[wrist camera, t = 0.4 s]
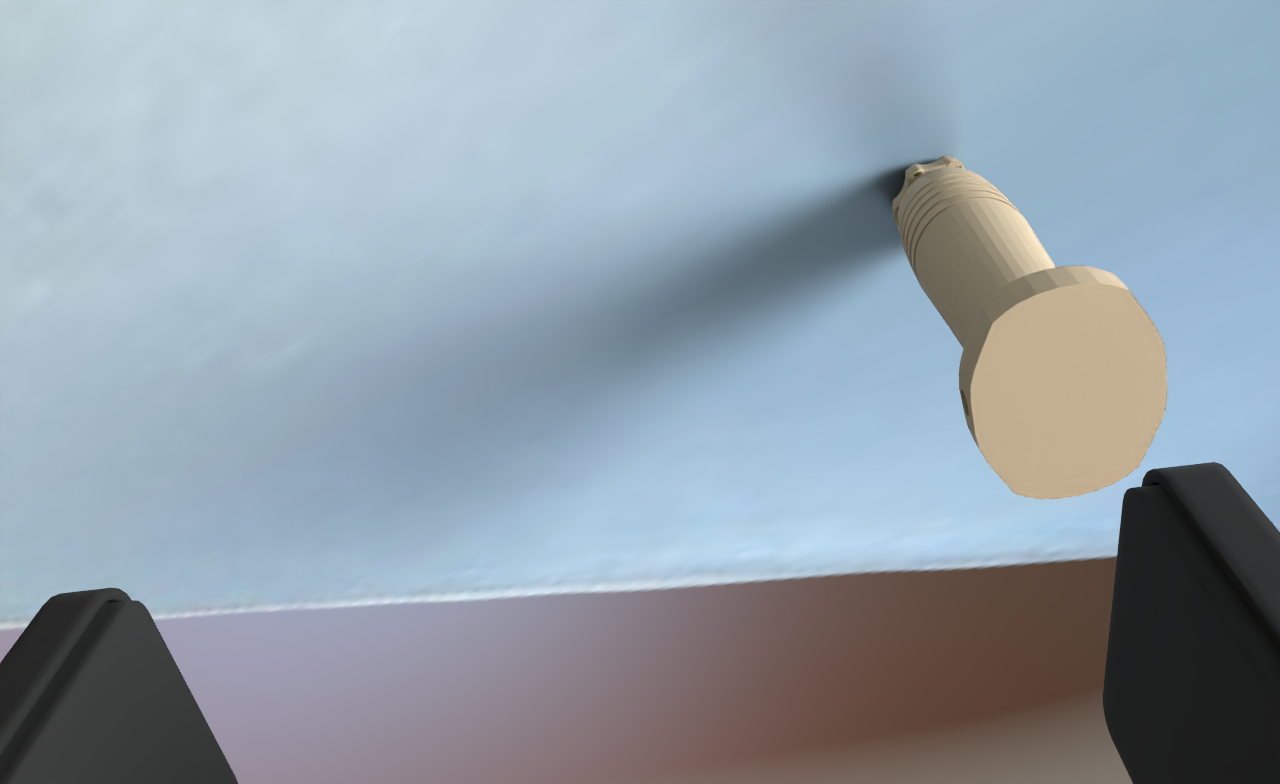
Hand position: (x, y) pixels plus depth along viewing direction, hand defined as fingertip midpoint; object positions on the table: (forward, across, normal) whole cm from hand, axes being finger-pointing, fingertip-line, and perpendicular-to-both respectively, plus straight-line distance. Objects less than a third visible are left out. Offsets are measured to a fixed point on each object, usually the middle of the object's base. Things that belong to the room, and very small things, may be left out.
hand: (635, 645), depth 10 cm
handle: (+31, -10, +8) cm, 33 cm away
